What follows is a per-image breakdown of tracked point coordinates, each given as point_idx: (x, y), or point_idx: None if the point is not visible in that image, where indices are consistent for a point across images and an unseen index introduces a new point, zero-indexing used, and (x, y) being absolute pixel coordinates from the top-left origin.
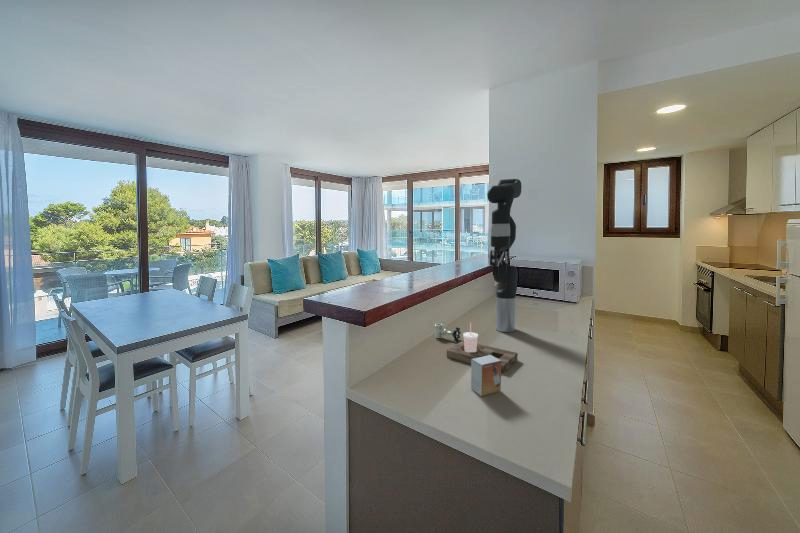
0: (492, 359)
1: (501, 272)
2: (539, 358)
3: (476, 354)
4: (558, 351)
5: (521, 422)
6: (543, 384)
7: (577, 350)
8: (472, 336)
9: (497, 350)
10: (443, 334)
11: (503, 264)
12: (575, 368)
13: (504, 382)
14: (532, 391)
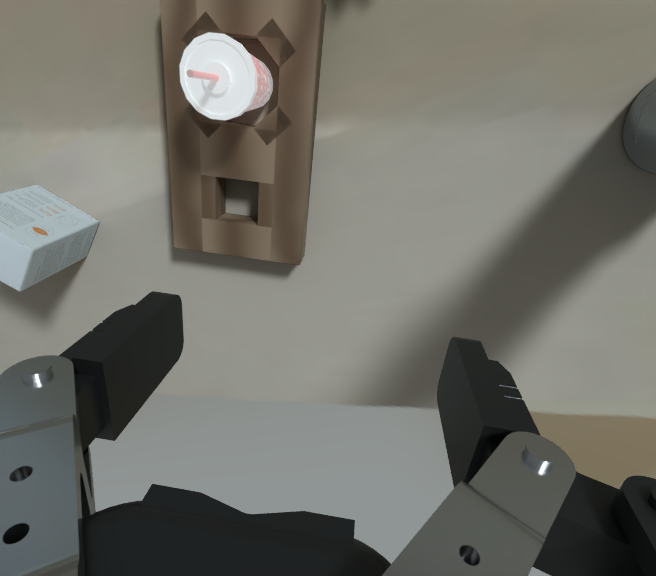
0: (3, 267)
1: (450, 341)
2: (357, 312)
3: (197, 132)
4: None
5: (11, 319)
6: (191, 338)
7: None
8: (201, 98)
9: (282, 194)
10: None
11: (471, 461)
12: (334, 397)
13: (135, 254)
14: None
